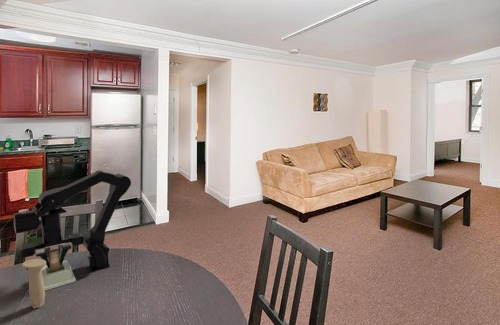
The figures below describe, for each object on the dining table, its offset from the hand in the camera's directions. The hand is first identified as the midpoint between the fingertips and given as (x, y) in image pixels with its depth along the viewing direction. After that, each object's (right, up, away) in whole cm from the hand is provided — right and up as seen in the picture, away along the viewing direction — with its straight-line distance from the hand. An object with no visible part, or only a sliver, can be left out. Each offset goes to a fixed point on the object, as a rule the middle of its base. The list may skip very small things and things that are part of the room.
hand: (54, 265), depth 106 cm
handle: (+4, -8, -14) cm, 16 cm away
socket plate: (0, -5, +1) cm, 6 cm away
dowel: (0, -2, 0) cm, 2 cm away
